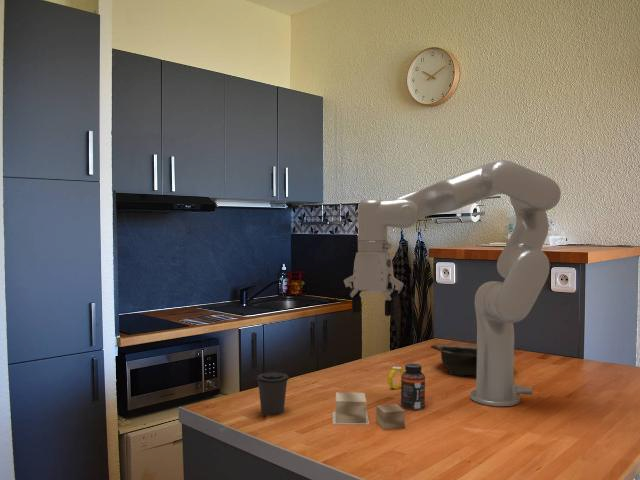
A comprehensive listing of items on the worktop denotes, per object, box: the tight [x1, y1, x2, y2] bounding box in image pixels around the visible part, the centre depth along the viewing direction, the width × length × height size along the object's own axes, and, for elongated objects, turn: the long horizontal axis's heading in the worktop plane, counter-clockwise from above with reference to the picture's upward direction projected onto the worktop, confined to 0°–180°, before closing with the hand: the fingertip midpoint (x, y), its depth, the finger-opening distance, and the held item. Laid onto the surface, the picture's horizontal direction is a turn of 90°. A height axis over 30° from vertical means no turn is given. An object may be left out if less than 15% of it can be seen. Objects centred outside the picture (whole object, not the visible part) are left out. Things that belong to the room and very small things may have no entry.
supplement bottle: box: [400, 362, 426, 412], centre depth 144 cm, size 6×6×11 cm
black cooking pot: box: [430, 344, 477, 377], centre depth 183 cm, size 25×25×9 cm
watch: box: [387, 366, 405, 390], centre depth 163 cm, size 6×3×6 cm, turn 130°
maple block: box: [335, 391, 367, 423], centre depth 135 cm, size 7×7×5 cm
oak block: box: [375, 403, 406, 431], centre depth 130 cm, size 5×5×4 cm
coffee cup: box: [256, 371, 290, 418], centre depth 140 cm, size 8×8×10 cm
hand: (372, 313), depth 148 cm, fingers open, 9 cm apart
